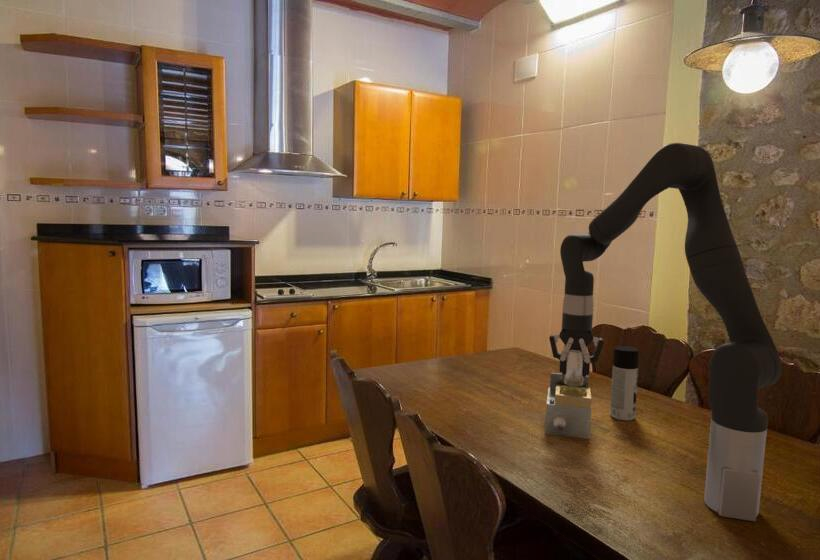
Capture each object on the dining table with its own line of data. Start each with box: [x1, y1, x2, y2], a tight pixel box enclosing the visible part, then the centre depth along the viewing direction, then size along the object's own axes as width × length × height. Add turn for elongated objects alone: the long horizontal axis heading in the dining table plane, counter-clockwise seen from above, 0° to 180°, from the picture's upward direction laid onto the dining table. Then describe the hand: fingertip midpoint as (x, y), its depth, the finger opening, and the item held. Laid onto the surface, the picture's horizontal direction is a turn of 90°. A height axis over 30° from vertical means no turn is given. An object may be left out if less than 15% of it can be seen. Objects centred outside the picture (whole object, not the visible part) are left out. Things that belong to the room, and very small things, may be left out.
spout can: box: [564, 349, 585, 386], centre depth 139 cm, size 5×5×11 cm
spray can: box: [609, 345, 640, 422], centre depth 150 cm, size 7×7×20 cm
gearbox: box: [544, 372, 592, 440], centre depth 141 cm, size 17×11×13 cm, turn 163°
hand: (574, 374), depth 140 cm, fingers closed on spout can, 4 cm apart
